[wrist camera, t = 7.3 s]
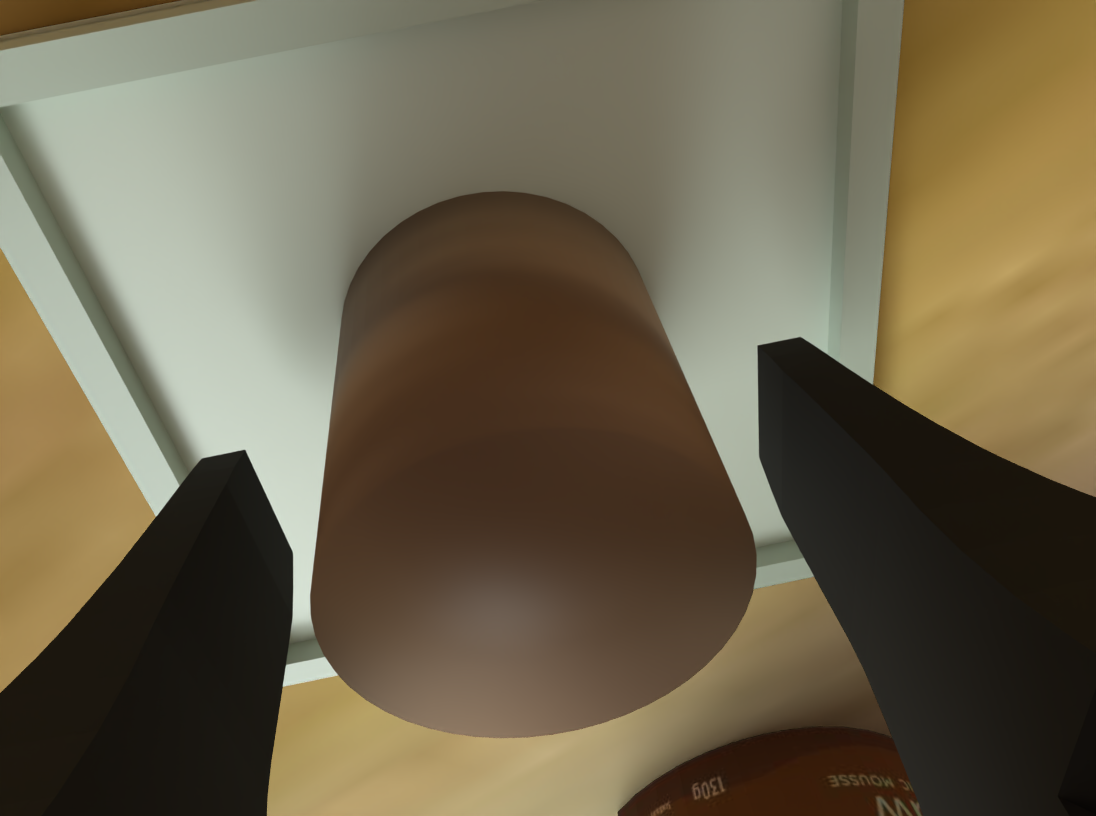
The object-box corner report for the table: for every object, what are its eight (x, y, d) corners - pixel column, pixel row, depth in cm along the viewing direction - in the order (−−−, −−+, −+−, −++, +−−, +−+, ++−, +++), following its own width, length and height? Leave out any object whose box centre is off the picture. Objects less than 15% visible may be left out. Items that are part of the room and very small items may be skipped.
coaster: (262, 654, 18) (257, 691, 18) (-69, 49, 11) (-102, 70, 10) (840, 535, 19) (858, 567, 18) (882, -137, 11) (915, -129, 11)
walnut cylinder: (418, 491, 16) (421, 779, 11) (282, 261, 13) (219, 528, 9) (680, 400, 15) (789, 665, 11) (599, 141, 13) (704, 358, 8)
